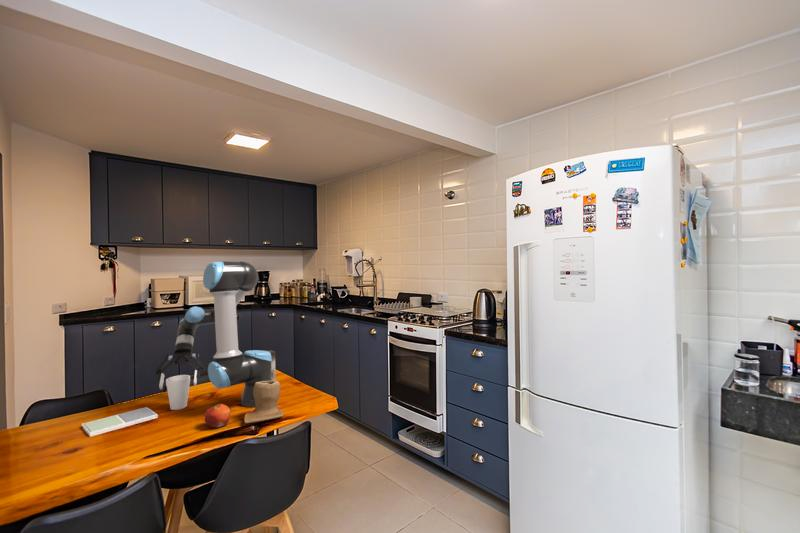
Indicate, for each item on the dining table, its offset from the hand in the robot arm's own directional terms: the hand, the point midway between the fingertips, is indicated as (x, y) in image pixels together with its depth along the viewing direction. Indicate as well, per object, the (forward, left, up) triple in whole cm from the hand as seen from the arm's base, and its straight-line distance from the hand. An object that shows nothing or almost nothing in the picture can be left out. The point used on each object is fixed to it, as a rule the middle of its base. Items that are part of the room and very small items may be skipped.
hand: (177, 385), depth 168 cm
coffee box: (+1, -43, -9) cm, 44 cm away
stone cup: (-45, -16, -9) cm, 48 cm away
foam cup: (-2, +1, -9) cm, 9 cm away
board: (-1, +22, -9) cm, 24 cm away
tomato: (-36, -1, -9) cm, 38 cm away
